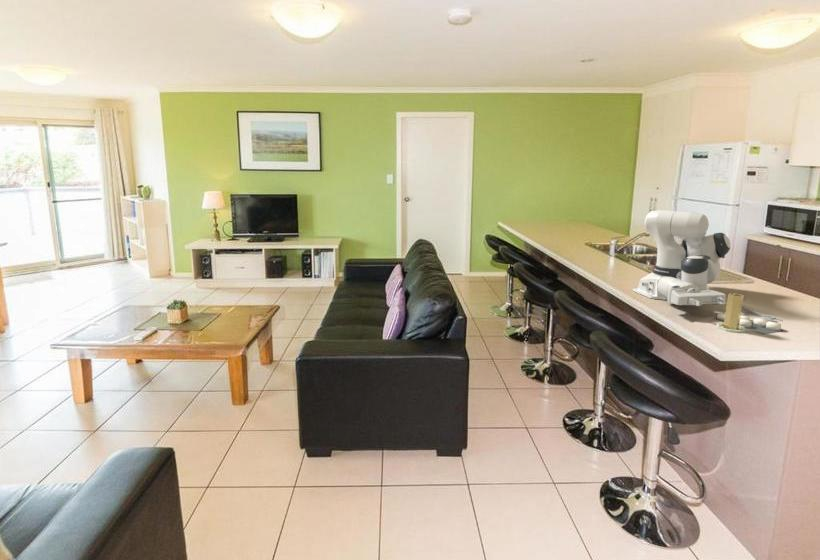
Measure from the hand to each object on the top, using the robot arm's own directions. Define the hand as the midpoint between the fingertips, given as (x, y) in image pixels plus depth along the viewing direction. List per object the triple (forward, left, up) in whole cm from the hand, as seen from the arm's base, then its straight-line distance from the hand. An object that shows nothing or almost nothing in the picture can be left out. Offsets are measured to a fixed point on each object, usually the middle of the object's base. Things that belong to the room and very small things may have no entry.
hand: (712, 303), depth 187 cm
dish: (+9, -1, -8) cm, 12 cm away
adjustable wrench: (-1, +28, -8) cm, 29 cm away
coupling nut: (+9, -1, -7) cm, 12 cm away
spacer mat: (+8, +10, -8) cm, 15 cm away
